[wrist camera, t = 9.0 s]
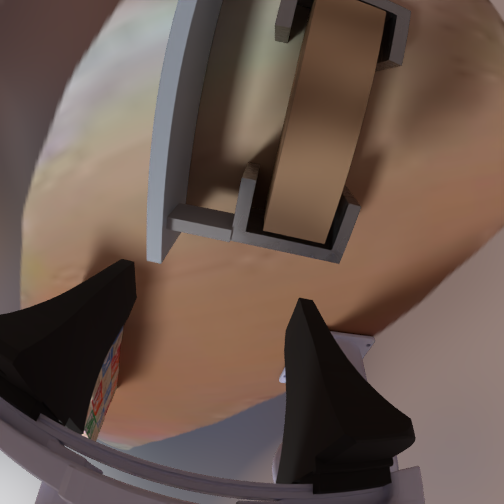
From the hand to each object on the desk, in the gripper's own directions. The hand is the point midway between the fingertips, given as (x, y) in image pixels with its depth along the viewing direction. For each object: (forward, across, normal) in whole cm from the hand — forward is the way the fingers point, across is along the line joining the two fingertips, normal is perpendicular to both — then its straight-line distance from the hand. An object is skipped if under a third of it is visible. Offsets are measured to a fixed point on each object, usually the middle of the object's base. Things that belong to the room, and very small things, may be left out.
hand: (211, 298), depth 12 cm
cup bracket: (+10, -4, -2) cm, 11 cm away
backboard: (+10, +2, -8) cm, 13 cm away
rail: (+10, -4, -8) cm, 13 cm away
